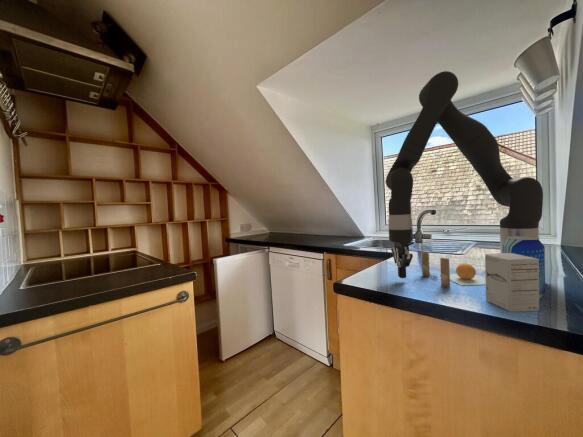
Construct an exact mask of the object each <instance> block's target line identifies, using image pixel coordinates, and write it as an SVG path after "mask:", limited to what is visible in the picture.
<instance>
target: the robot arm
mask: <svg viewBox="0 0 583 437" xmlns="http://www.w3.org/2000/svg"><path fill="white" fill-rule="evenodd" d="M458 88H459V79H458V77H457V75H456V74H454V73H453V72H452V71H446V70H444V71H441V72H437V73H436V74H435V75H433V76H432V77H431V78H430V79H429V80H428V81H427V82H426V83H425V85H424V86H423V87H422V88H421V90H420V91H419V94H418V100H419V104H420V105H421V107H422V109H420V110H421V111H420V112H419V113H418V117H417V118H416V120H415V121H414V123H413V125H412V127H411V128H410V130H409V131H408V132H407V135H406V137H405V138H404V140H403V143H402V145H401V147H400V149H399V152H398V154H397V157H396V159H395V160H394V161H393V164H392V166H391V167H390V169H389V171H388V173H387V175H386V178H385V185H386V187H387V188H388V190H390V199H389V200H388V225H387V226H388V240H389V242H391V243H393V247H391V249H390V250H391V254H392V257H393V258H392V259H393V262H394V264H396V266H397V275H398V277H399V278H400V279H406V278H407V267H410V265H411V262H412V260H413V257H414V255H413V253H410V247H409V243H412V242H413V241H414V235H413V234H414V233H413V232H414V230H413V228H414V227H413V216H412V202H411V200H412V195H413V189H414V188H413V187H414V178H413V174H412V171H413V169H414V167H416V165H418V163H419V161H420V160H421V158H422V156H423V153H424V151H425V149H426V147H427V144H428V142H429V140H430V138H431V136H432V134H433V131H434V129H435V128H436V125H437V124H439V126H440V127H441V128H442V129H443V131H444V132H445V133H446V135H447V136H448V137H449V138H450V139H451V140H452V142H453V144H454V145H455V146H456V148H457V149H458V150H459V151H460V152H461V154H462V155H463V156H464V157H465V159H466V160H467V161H468V163H469V164H470V165H471V166H472V167H473V169H474V171H476V173H477V174H478V175H479V176H480V178H481V180H482V182H483V183H484V185H485V186H486V187H487V190H488V191H489V193H490V194H491V196H492V198H493V200H494V201H495V202H497V204H499V205H501V206H503V207H508V213H507V215H506V216H504V217H503V218H501V219H500V220H499V244H500V246H499V247H500V248H499V250H500V253H502V244H503V243H504V242H505V240H506V239H507V238H506V237H508V236H531V237H538V238H539V239H540V235H539V223H540V222H541V219H542V217H543V206H544V204H543V203H544V191H543V186H542V184H541V183H540V181H538V180H537V179H536V178H533V177H530V176H529V177H527V176H525V177H519V178H513V177H512V176H511V175H510V174H509V173H508V172H507V170H506V169H505V168H504V167H503V166H504V165H502V162H501V157H500V156H501V155H500V153H501V152H500V146H499V143H498V141H497V139H496V138H495V136H494V135H493V134H492V132H491V131H490V130H489V129H488V127H487V126H486V125H485V124H484V123H482V122H480V121H479V120H477V119H475V118H473V117H471V116H469V115H467V114H464V113H463V112H462V111H460V110H459V108H457V107H456V105H455V104H454V103H453V101H452V99H453V97H454V96H455V95H456V93H457V91H458Z"/></svg>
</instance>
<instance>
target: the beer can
mask: <svg viewBox="0 0 583 437" xmlns="http://www.w3.org/2000/svg"><path fill="white" fill-rule="evenodd" d="M506 238H507V239H506V240H505V242H504V243H503V244H502V253H514V254H518V255H523V256H528V257H532V258H537V259H539V299H541V298H542V297H543V296H544V295H546V262H545V260H546V257H545V256H546V254H545V253H546V252H545V251H546V250H545V249H546V248H545V245H544V244H543V243H542V242H541V241H540V237H539V238H538V237H531V236H508V237H506Z"/></svg>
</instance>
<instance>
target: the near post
mask: <svg viewBox="0 0 583 437" xmlns="http://www.w3.org/2000/svg"><path fill="white" fill-rule="evenodd" d="M439 260H440V261H439V262H440V266H439V267H440V275H441V276H440V286H441V287H442V288H447V289H448V288H451V280H450V273H451V272H450V269H451V268H450V258H449V257H440V258H439Z"/></svg>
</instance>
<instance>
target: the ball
mask: <svg viewBox="0 0 583 437" xmlns="http://www.w3.org/2000/svg"><path fill="white" fill-rule="evenodd" d="M476 271H477V270H476V268H475V267H474V266H473V265H472V264H470V263H466V262H465V263H461V264H460V263H459V264H458V265H457V266H456V269H455V273H456V274H457V275H458V276H459V277H460V278H462V279H465V280H470V279H472V278H474V277H475V275H477V274H476V273H477V272H476Z"/></svg>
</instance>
